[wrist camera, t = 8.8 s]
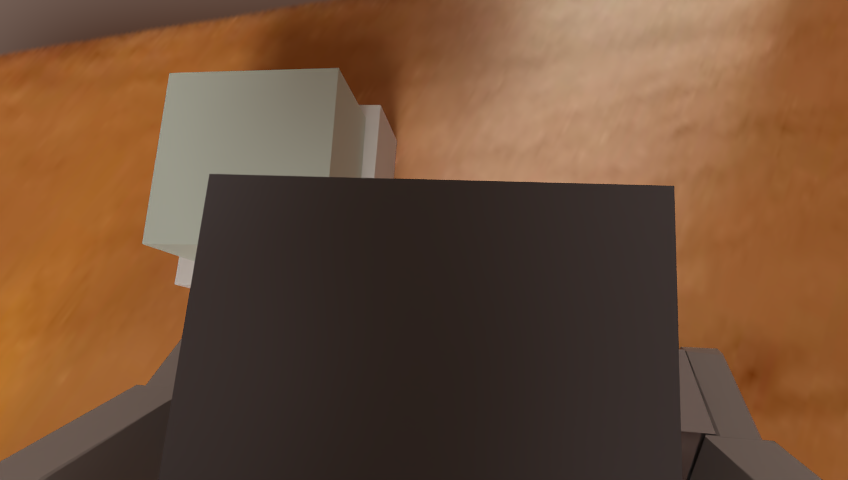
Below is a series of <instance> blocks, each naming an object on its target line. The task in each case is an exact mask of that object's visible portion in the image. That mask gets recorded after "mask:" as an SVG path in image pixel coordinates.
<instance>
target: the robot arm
mask: <svg viewBox="0 0 848 480" xmlns="http://www.w3.org/2000/svg"><path fill="white" fill-rule="evenodd" d="M181 341H182V339H181V340H180V341H179V343H178V344H177V345H176V347H175V348H174V349H173V350H172V352H171V353H170V354H169V356H168V357H167V358H166V360H165V361H164V362H163V363H162V365H161V366H160V367H159V369H158V370H157V371H156V373H155V374H154V375H153V376H152V378H151V379H150V380H149V382H148V383H147V384H146V386H144V385H136V386H134V387H132V388H130V389H129V390H127V391H125V392H123V393H121V394H120V395H118V396H116V397H114V398H113V399H111V400H109V401H107V402H105V403H104V404H102V405H100V406H98V407H97V408H95V409H93V410H91V411H90V412H88V413H86V414H84V415H82V416H81V417H79V418H77V419H75V420H74V421H72V422H70V423H68V424H66V425H65V426H63V427H61V428H59V429H58V430H56V431H54V432H52V433H50V434H49V435H47V436H45V437H43V438H42V439H40V440H38V441H36V442H34V443H33V444H31V445H29V446H27V447H26V448H24V449H22V450H20V451H18V452H17V453H15V454H13V455H11V456H10V457H8V458H6V459H4V460H2V461H1V462H0V480H158V478H159V472H160V466H161V460H162V454H163V448H164V442H165V436H166V430H167V424H168V418H169V412H170V406H171V400H172V394H173V388H174V382H175V377H176V371H177V365H178V359H179V353H180V347H181ZM679 376H680V411H681V447H682V480H822V479H821V478H819V477H818V476H817V475H816V474H814V473H813V472H812V471H811V470H809V469H808V468H807V467H806V466H804V465H803V464H802V463H801V462H799V461H798V460H797V459H796V458H794V457H793V456H792V455H791V454H789V453H788V452H787V451H786V450H785V449H783V448H782V447H781V446H780V445H778V444H777V443H776V442H775V441H767V440H762V438H761V436H760V434H759V432H758V430H757V427H756V425H755V423H754V421H753V419H752V417H751V414H750V412H749V410H748V408H747V406H746V403H745V401H744V399H743V397H742V395H741V393H740V390H739V388H738V386H737V384H736V382H735V379H734V377H733V375H732V373H731V371H730V369H729V366H728V364H727V362H726V360H725V358H724V355H723V354H722V353H721V352H720V351H719V350H718V349H712V348H692V347H681V348H679Z"/></svg>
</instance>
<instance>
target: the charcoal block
mask: <svg viewBox="0 0 848 480" xmlns="http://www.w3.org/2000/svg"><path fill="white" fill-rule="evenodd" d="M158 480H682V447H681V411H680V376H679V341H678V306H677V271H676V235H675V200H674V186H656V185H618V184H580V183H541V182H503V181H465V180H427V179H389V178H351V177H312V176H274V175H236V174H209V179H208V185H207V191H206V197H205V203H204V209H203V215H202V221H201V227H200V233H199V239H198V245H197V251H196V257H195V263H194V269H193V275H192V281H191V287H190V293H189V299H188V305H187V311H186V317H185V323H184V329H183V335H182V341H181V347H180V353H179V359H178V365H177V371H176V377H175V382H174V388H173V394H172V400H171V406H170V412H169V418H168V424H167V430H166V436H165V442H164V448H163V454H162V460H161V466H160V472H159V478H158Z"/></svg>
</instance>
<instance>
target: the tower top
mask: <svg viewBox="0 0 848 480" xmlns="http://www.w3.org/2000/svg"><path fill="white" fill-rule="evenodd" d="M365 122H366V117H365V116H364V114H363V112H362V110H361V108H360V106H359V104H358V103H357V101H356V99H355V97H354V95H353V93H352V92H351V90H350V88H349V86H348V84H347V82H346V81H345V79H344V77H343V75H342V73H341V71H340V69H339V68H320V69H288V70H256V71H224V72H192V73H170V74H169V80H168V86H167V92H166V99H165V105H164V111H163V117H162V124H161V130H160V136H159V142H158V148H157V155H156V161H155V167H154V173H153V180H152V186H151V192H150V198H149V204H148V211H147V217H146V223H145V229H144V236H143V242H142V244H144V245H147V246H150V247H153V248H156V249H159V250H162V251H165V252H168V253H171V254H174V255H177V256H180V257H183V258H186V259H189V260H192V261H195V257H196V251H197V245H198V239H199V233H200V227H201V221H202V215H203V209H204V203H205V197H206V191H207V185H208V179H209V174H236V175H274V176H312V177H351V178H361V176H362V163H363V149H364V135H365Z"/></svg>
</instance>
